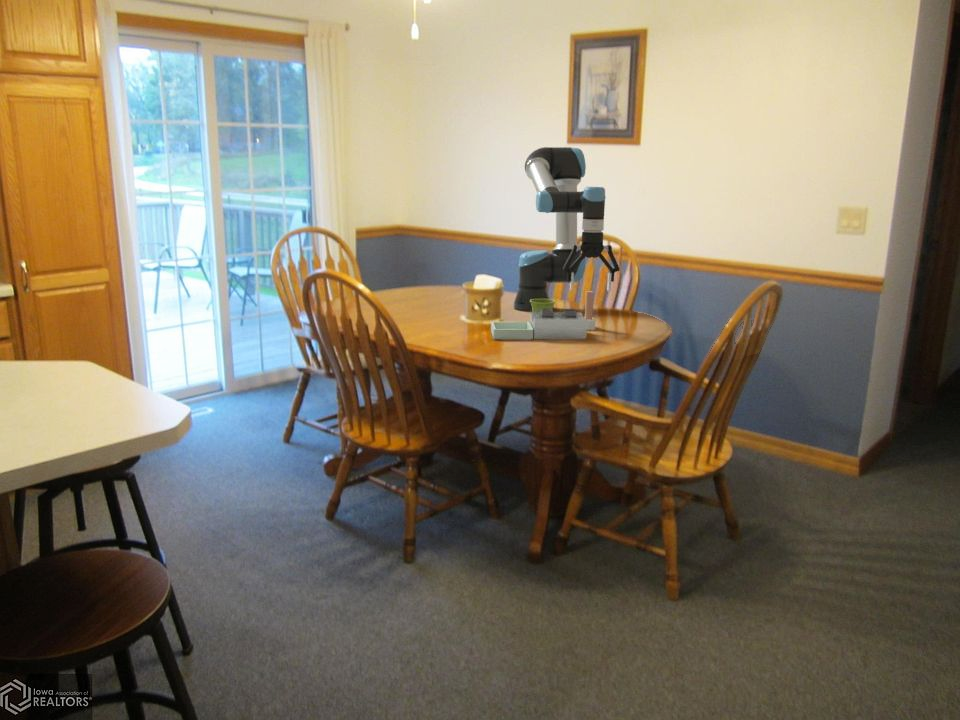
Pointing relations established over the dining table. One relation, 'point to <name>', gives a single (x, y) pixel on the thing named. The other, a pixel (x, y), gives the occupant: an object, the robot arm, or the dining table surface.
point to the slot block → (558, 326)
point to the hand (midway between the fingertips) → (590, 290)
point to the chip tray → (511, 331)
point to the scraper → (589, 310)
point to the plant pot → (541, 304)
